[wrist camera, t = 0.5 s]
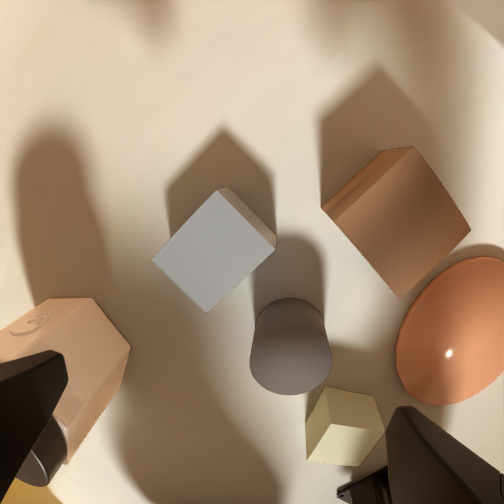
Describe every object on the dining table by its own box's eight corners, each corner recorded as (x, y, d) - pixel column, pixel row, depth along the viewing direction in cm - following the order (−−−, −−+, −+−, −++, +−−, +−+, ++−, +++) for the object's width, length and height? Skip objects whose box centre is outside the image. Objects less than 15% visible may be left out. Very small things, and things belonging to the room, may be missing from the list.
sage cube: (373, 395, 21) (385, 431, 17) (350, 430, 22) (357, 466, 18) (324, 386, 21) (330, 423, 17) (305, 423, 22) (306, 460, 18)
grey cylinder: (337, 330, 20) (348, 364, 16) (286, 369, 21) (286, 406, 17) (292, 284, 20) (295, 311, 16) (241, 327, 21) (232, 361, 17)
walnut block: (430, 214, 18) (471, 230, 13) (373, 268, 19) (399, 299, 14) (381, 150, 17) (413, 145, 12) (320, 207, 18) (333, 221, 14)
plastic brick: (276, 235, 19) (275, 249, 16) (218, 289, 20) (206, 313, 17) (228, 186, 19) (216, 190, 15) (172, 244, 20) (151, 259, 16)
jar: (117, 292, 21) (2, 393, 9) (145, 389, 23) (78, 506, 11) (31, 295, 22) (-73, 363, 10) (61, 379, 24) (-14, 462, 12)
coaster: (536, 327, 19) (541, 331, 18) (435, 420, 21) (438, 426, 21) (489, 220, 17) (496, 222, 16) (363, 340, 20) (365, 346, 19)
